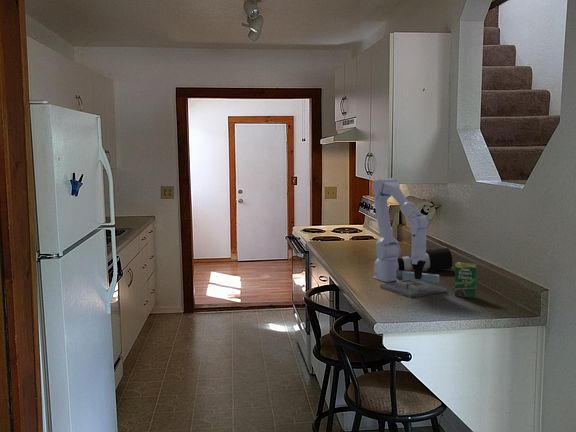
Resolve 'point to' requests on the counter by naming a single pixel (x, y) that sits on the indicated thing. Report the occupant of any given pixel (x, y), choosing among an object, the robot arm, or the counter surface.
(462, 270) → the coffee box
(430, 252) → the black banded cylinder
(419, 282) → the chassis
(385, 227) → the robot arm
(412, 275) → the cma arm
